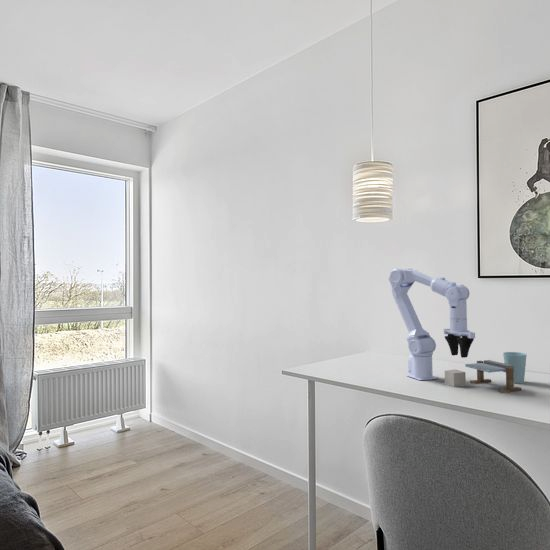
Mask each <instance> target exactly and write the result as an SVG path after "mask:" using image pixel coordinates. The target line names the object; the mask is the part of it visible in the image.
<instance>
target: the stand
mask: <svg viewBox="0 0 550 550" xmlns="http://www.w3.org/2000/svg"><path fill="white" fill-rule="evenodd" d="M476 363H484V360H476ZM484 373H485V371H481V370H477V369H476V378H477V379H473V380H472V379H471V380H469V383H471V384H473V385H474V383H475V384H482V383H483V384H484V382H485V383H491V382H492V379H490V378H485V375H484ZM505 382H506V384H505V385H506V386H505V388H498V392H500V393H511V392H512V393H513V392H518V391H519V392H520V391H523V390H522V387H519V386H515V383H514V374H513V368H510V367H509V368H506V372H505Z"/></svg>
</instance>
